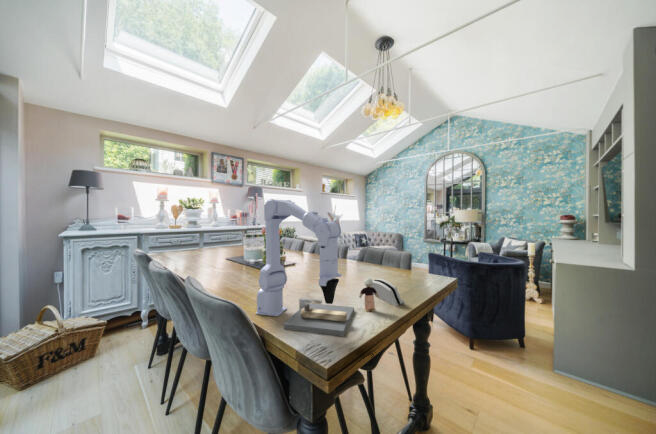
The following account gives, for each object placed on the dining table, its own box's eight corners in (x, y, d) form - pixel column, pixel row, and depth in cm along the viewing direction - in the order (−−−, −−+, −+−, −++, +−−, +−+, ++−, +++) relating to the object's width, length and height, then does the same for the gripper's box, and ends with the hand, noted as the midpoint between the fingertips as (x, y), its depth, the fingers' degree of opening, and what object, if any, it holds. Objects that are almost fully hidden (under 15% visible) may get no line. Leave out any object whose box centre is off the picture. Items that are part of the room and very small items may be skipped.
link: (298, 318, 79) (298, 306, 79) (303, 313, 83) (303, 302, 83) (344, 323, 75) (344, 310, 75) (347, 317, 79) (347, 305, 79)
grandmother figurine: (374, 307, 93) (374, 275, 93) (379, 310, 89) (379, 278, 89) (357, 310, 90) (357, 277, 90) (362, 313, 87) (361, 280, 87)
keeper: (299, 310, 87) (299, 299, 87) (301, 308, 89) (301, 297, 89) (320, 312, 84) (320, 301, 85) (322, 310, 86) (322, 299, 86)
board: (283, 328, 75) (283, 324, 75) (305, 306, 95) (305, 303, 95) (343, 335, 70) (343, 331, 70) (354, 311, 89) (353, 307, 89)
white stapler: (405, 304, 95) (398, 282, 94) (397, 310, 93) (390, 288, 92) (381, 293, 110) (375, 274, 109) (373, 298, 109) (367, 279, 108)
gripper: (335, 264, 64) (336, 313, 64) (345, 256, 78) (346, 296, 78) (311, 263, 66) (312, 310, 66) (325, 256, 80) (326, 295, 80)
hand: (329, 303), depth 72 cm, fingers closed
